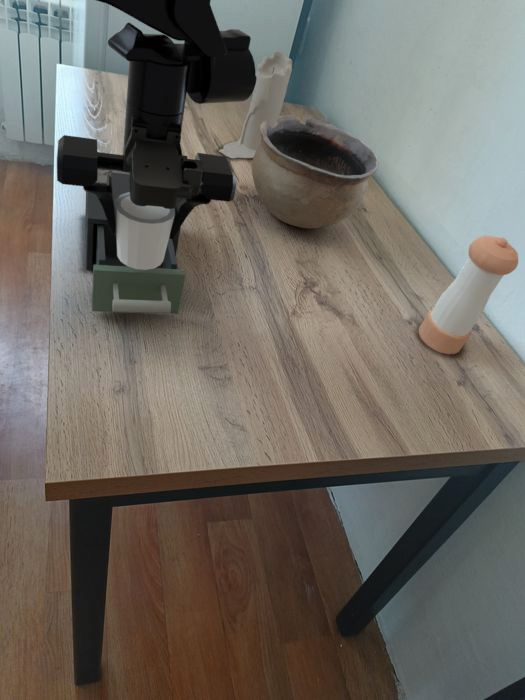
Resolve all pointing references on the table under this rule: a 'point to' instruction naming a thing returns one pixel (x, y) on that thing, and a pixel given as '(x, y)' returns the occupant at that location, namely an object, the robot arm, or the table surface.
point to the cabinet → (97, 216)
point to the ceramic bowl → (311, 171)
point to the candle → (262, 104)
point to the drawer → (134, 281)
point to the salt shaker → (468, 294)
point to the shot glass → (141, 233)
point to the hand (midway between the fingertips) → (142, 234)
